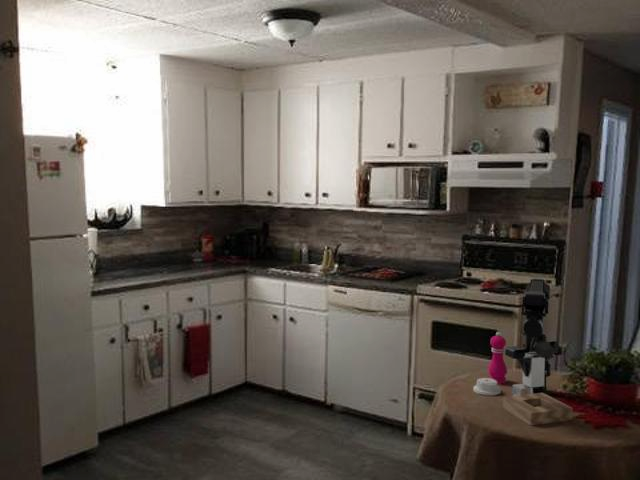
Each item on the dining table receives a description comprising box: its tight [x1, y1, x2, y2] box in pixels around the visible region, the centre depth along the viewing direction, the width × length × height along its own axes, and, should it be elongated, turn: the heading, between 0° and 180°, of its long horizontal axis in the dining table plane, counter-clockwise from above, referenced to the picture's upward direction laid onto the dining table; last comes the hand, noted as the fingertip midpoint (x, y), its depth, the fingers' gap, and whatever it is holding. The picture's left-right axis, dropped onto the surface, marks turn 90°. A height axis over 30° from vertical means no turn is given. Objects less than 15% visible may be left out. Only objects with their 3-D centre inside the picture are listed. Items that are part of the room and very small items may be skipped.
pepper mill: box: [487, 331, 508, 385], centre depth 240 cm, size 7×7×20 cm
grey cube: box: [511, 383, 534, 396], centre depth 220 cm, size 5×5×5 cm
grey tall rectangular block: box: [522, 354, 545, 387], centre depth 205 cm, size 5×5×10 cm
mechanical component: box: [472, 377, 502, 396], centre depth 229 cm, size 10×4×10 cm
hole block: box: [502, 392, 574, 426], centre depth 205 cm, size 16×16×4 cm
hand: (533, 375), depth 205 cm, fingers closed on grey tall rectangular block, 5 cm apart
